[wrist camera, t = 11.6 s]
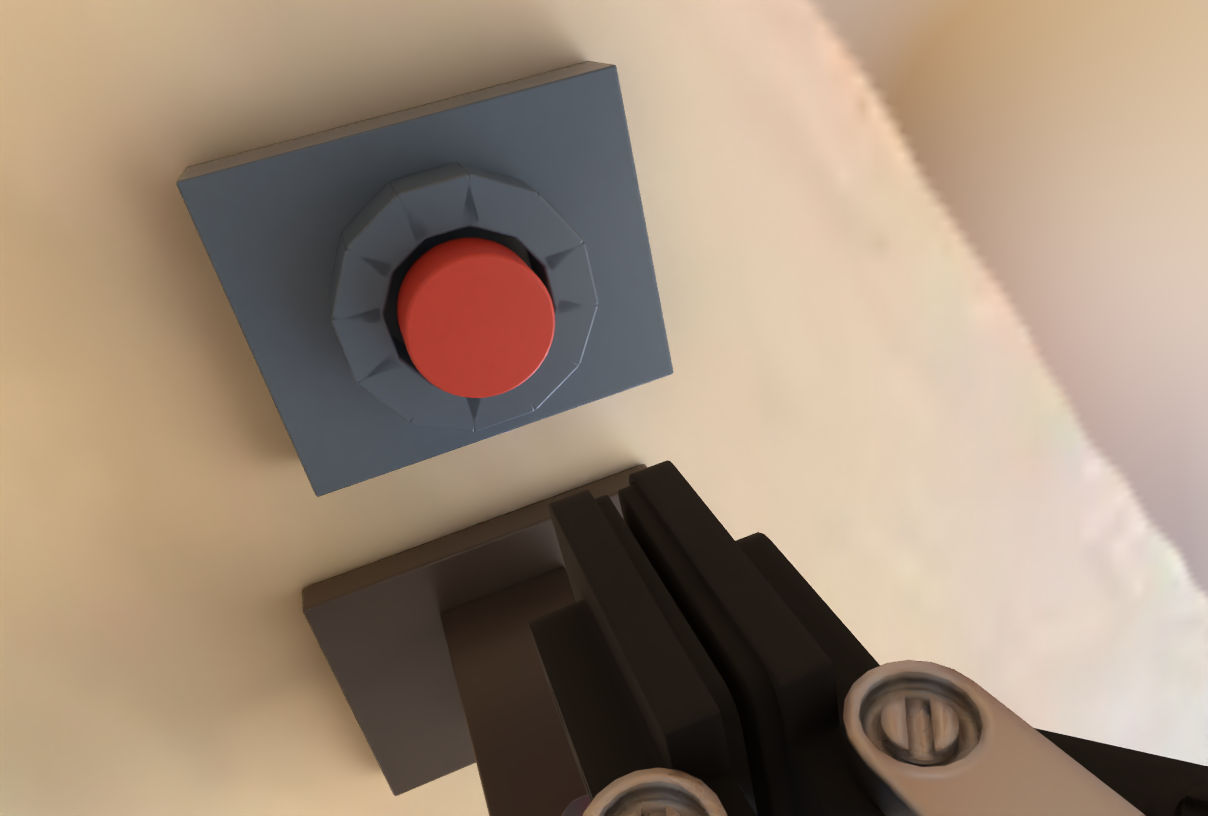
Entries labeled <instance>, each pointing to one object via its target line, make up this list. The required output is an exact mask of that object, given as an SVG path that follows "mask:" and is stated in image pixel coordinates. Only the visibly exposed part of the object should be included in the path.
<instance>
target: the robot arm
mask: <svg viewBox="0 0 1208 816" xmlns="http://www.w3.org/2000/svg"><path fill="white" fill-rule="evenodd" d="M629 484H630V486H628V487H625V488H622V489H620V490H618V497H619V502H620V506H621V510H622V514H623V518H622V516H621V515H620V513H619V512H618V510H617V508H616V507H615V505H614V504H613V502H612V500H611V499H610V497H609V496H608V495H607V494H606V495H603V496H600V497H598V498H595V499H594V497H593V496H592V494H591V493H590V491H589V490H584V491H582V492H579V493H576V494H573V495H570V496H568V497H565V498H562V499H559V500H557V501H554V502H551V503H549V504H548V506H549V511H550V515H551V519H552V522H553V525H554V529H555V532H556V536H557V539H558V543H559V546H560V550H561V553H562V557H563V560H564V564H565V567H566V570H567V574H568V577H569V581H570V584H571V588H572V591H573V595H574V598H575V602H576V603H573V604H571V605H568V606H566V607H563V608H560V609H558V610H555V611H553V612H550V613H547V614H545V615H542V616H540V617H537V618H534V619H532V620H529V621H527V622H528V626H529V629H530V632H531V635H532V638H533V641H534V644H535V647H536V650H537V653H538V656H539V659H540V662H541V665H542V668H543V671H544V674H545V677H546V680H547V683H548V686H549V689H550V691H551V694H552V697H553V700H554V703H555V706H556V709H557V711H558V714H559V717H560V720H561V723H562V725H563V728H564V731H565V734H566V736H567V739H568V742H569V745H570V747H571V750H572V753H573V756H574V758H575V761H576V764H577V767H578V769H579V772H580V775H581V778H582V780H583V783H584V786H585V789H586V791H587V794H588V797H589V800H590V802H591V803H590V805H589V806H588V807H587V809H586V810H585V812H584V813H583V816H1208V766H1203V765H1199V764H1194V763H1190V762H1185V761H1181V760H1176V759H1171V758H1167V757H1162V756H1158V755H1153V754H1149V753H1144V752H1140V751H1135V750H1131V749H1126V748H1122V747H1117V746H1113V745H1108V744H1103V743H1099V742H1094V741H1090V740H1085V739H1081V738H1076V737H1072V736H1067V735H1063V734H1058V733H1054V732H1049V731H1045V730H1040V729H1035V728H1033V727H1032V726H1030V725H1029V724H1028V723H1026V722H1025V721H1024V720H1023V719H1021V718H1020V717H1019V716H1018V715H1016V714H1015V713H1014V712H1012V711H1011V710H1010V709H1009V708H1007V707H1006V706H1005V705H1003V704H1002V703H1001V702H1000V701H998V700H997V699H996V698H994V697H993V696H992V695H991V694H989V693H988V692H987V691H986V690H984V689H983V688H982V687H980V686H979V685H978V684H977V683H975V682H974V681H972V680H971V679H969V678H967V677H966V676H964V675H962V674H961V673H959V672H957V671H956V670H954V669H951V668H948V667H945V666H942V665H938V664H935V663H932V662H923V661H912V660H906V661H899V662H892V663H886V664H883V665H881V666H880V665H879V664H878V663H877V662H876V660H875V659H874V658H873V657H872V656H871V655H870V653H869V652H868V651H867V650H866V649H865V648H864V647H863V645H862V644H861V643H860V642H859V641H858V640H857V639H856V637H855V636H854V635H853V634H852V633H851V632H850V631H849V629H848V628H847V627H846V626H845V625H844V624H843V623H842V621H841V620H840V619H839V618H838V617H837V616H836V615H835V613H834V612H833V611H832V610H831V609H830V608H829V606H828V605H827V604H826V603H825V602H824V601H823V600H822V598H821V597H820V596H819V595H818V594H817V593H816V592H815V590H814V589H813V588H812V587H811V586H810V585H809V584H808V582H807V581H806V580H805V579H804V578H803V577H802V576H801V574H800V573H799V572H798V571H797V570H796V569H795V568H794V566H793V565H792V564H791V563H790V562H789V561H788V560H787V558H786V557H785V556H784V555H783V554H782V553H781V551H780V550H779V549H778V548H777V547H776V546H775V545H774V543H773V542H772V541H771V540H770V539H769V538H768V537H767V536H765V535H764V534H762V533H759V532H757V533H755V534H752V535H750V536H747V537H744V538H742V539H739V540H737V541H735V540H734V539H733V538H732V537H731V535H730V534H729V533H728V532H727V530H726V529H725V528H724V527H723V525H722V524H721V523H720V522H719V520H718V519H717V518H716V517H715V516H714V514H713V513H712V512H711V511H710V509H709V508H708V507H707V506H706V504H705V503H704V502H703V501H702V499H701V498H700V497H699V496H698V494H697V493H696V492H695V491H694V489H693V488H692V487H691V486H690V484H689V483H688V482H687V481H686V480H685V478H684V477H683V476H682V475H681V473H680V472H679V471H678V470H677V468H676V467H675V466H674V465H673V464H672V463H671V462H670V461H665V462H662V463H659V464H656V465H654V466H651V467H648V468H645V469H643V470H640V471H637V472H634V473H631V474H630V475H629ZM623 519H624V520H623Z"/></svg>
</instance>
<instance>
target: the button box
mask: <svg viewBox="0 0 1208 816" xmlns="http://www.w3.org/2000/svg"><path fill="white" fill-rule="evenodd" d="M177 187H178V189H179V191H180V193H181V195H182V198H183V200H184V202H185V204H186V207H187V209H188V211H189V213H190V216H191V218H192V220H193V222H194V224H195V227H196V229H197V231H198V233H199V236H200V238H201V240H202V242H203V245H204V247H205V249H206V251H207V254H208V256H209V258H210V260H211V262H212V265H213V267H214V269H215V271H216V274H217V276H218V278H219V280H220V283H221V285H222V287H223V289H224V292H225V294H226V296H227V298H228V300H229V303H230V305H231V307H232V309H233V312H234V314H235V316H236V318H237V321H238V323H239V325H240V327H241V329H242V332H243V334H244V336H245V338H246V341H247V343H248V345H249V347H250V350H251V352H252V354H253V356H254V359H255V361H256V363H257V365H258V367H259V370H260V372H261V374H262V376H263V379H264V381H265V383H266V385H267V388H268V390H269V392H270V394H271V397H272V399H273V401H274V403H275V405H276V408H277V410H278V412H279V414H280V417H281V419H282V421H283V423H284V426H285V428H286V430H287V432H288V434H289V437H290V439H291V441H292V443H293V446H294V448H295V450H296V452H297V455H298V457H299V459H300V461H301V464H302V466H303V468H304V470H305V472H306V475H307V477H308V479H309V481H310V484H311V486H312V488H313V490H314V493H315V495H316V496H317V497H319V496H322V495H325V494H327V493H330V492H333V491H336V490H339V489H342V488H345V487H348V486H351V485H353V484H356V483H359V482H362V481H365V480H368V479H371V478H374V477H376V476H379V475H382V474H385V473H388V472H391V471H394V470H397V469H400V468H402V467H405V466H408V465H411V464H414V463H417V462H420V461H423V460H426V459H428V458H431V457H434V456H437V455H440V454H443V453H446V452H449V451H451V450H454V449H457V448H460V447H463V446H466V445H469V444H472V443H475V442H477V441H480V440H483V439H486V438H489V437H492V436H495V435H498V434H500V433H503V432H506V431H509V430H512V429H515V428H518V427H521V426H524V425H526V424H529V423H532V422H535V421H538V420H541V419H544V418H547V417H550V416H552V415H555V414H558V413H561V412H564V411H567V410H570V409H573V408H575V407H578V406H581V405H584V404H587V403H590V402H593V401H596V400H599V399H601V398H604V397H607V396H610V395H613V394H616V393H619V392H622V391H625V390H627V389H630V388H633V387H636V386H639V385H642V384H645V383H648V382H650V381H653V380H656V379H659V378H662V377H665V376H668V375H671V374H673V368H672V363H671V357H670V352H669V346H668V341H667V336H666V330H665V325H664V320H663V314H662V309H661V304H660V298H659V293H658V288H657V282H656V277H655V272H654V266H653V261H652V255H651V250H650V245H649V239H648V234H647V229H646V223H645V218H644V213H643V207H642V202H641V197H640V191H639V186H638V181H637V175H636V170H635V164H634V159H633V154H632V148H631V143H630V138H629V132H628V127H627V122H626V116H625V111H624V106H623V100H622V95H621V89H620V84H619V79H618V73H617V68H616V66H615V65H611V64H604V63H598V62H591V61H588V62H584V63H580V64H576V65H572V66H569V67H565V68H561V69H557V70H553V71H550V72H546V73H542V74H538V75H535V76H531V77H527V78H523V79H519V80H516V81H512V82H508V83H504V84H500V85H497V86H493V87H489V88H485V89H481V90H478V91H474V92H470V93H466V94H463V95H459V96H455V97H451V98H447V99H444V100H440V101H436V102H432V103H428V104H425V105H421V106H417V107H413V108H410V109H406V110H402V111H398V112H394V113H391V114H387V115H383V116H379V117H375V118H372V119H368V120H364V121H360V122H356V123H353V124H349V125H345V126H341V127H338V128H334V129H330V130H326V131H322V132H319V133H315V134H311V135H307V136H303V137H300V138H296V139H292V140H288V141H284V142H281V143H277V144H273V145H269V146H266V147H262V148H258V149H254V150H250V151H247V152H243V153H239V154H235V155H231V156H228V157H224V158H220V159H216V160H212V161H209V162H205V163H201V164H197V165H194V166H190V167H187V168H186V169H185V171H184V172H183V174H182V175H181V176H180V178H179V179H178V181H177ZM465 237H477V238H483V239H488V240H492V241H495V242H497V243H500V244H502V245H504V246H506V247H507V248H509V249H510V250H512V251H513V252H514V253H516V254H517V255H518V256H519V257H520V258H521V259H522V260H523V261H524V262H525V263H526V264H527V265H528V266H529V268H530V269H531V270H532V271H533V272H534V273H535V274H536V275H537V276H538V277H539V278H540V279H541V281H542V282H543V284H544V285H545V287H546V289H547V291H548V293H549V295H550V297H551V300H552V303H553V307H554V313H555V330H554V336H553V341H552V344H551V347H550V349H549V352H548V354H547V356H546V357H545V359H544V361H543V362H542V364H541V365H540V367H539V368H538V369H537V370H536V371H535V373H534V374H533V375H532V376H531V377H529V378H528V379H527V380H526V381H525V382H523V383H522V384H520V385H519V386H517V387H515V388H514V389H512V390H510V391H507V392H505V393H502V394H499V395H495V396H491V397H484V398H469V397H461V396H457V395H453V394H450V393H448V392H445V391H443V390H441V389H439V388H437V387H436V386H434V385H433V384H432V383H430V382H429V381H428V380H427V379H426V378H424V377H423V376H422V374H421V373H420V372H419V371H418V370H417V368H416V367H415V365H414V364H413V362H412V360H411V358H410V356H409V353H408V351H407V348H406V345H405V342H404V339H403V336H402V334H401V331H400V327H399V324H398V318H397V299H398V293H399V289H400V286H401V283H402V281H403V279H404V277H405V275H406V273H407V272H408V270H409V269H410V267H411V266H412V265H413V264H414V262H415V261H416V260H417V259H418V258H419V257H420V256H421V255H423V254H424V253H425V252H427V251H428V250H429V249H431V248H433V247H435V246H436V245H438V244H440V243H443V242H446V241H448V240H452V239H457V238H465Z"/></svg>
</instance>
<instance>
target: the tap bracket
mask: <svg viewBox="0 0 1208 816" xmlns="http://www.w3.org/2000/svg"><path fill="white" fill-rule="evenodd" d="M645 468H647V467H646V465H644V464H642V465H640V466H637V467H634V468H631V469H629V470H626V471H623V472H621V473H618V474H615V475H612V476H610V477H607V478H604V479H601V480H599V481H596V482H593V483H590V484H588V485H585V486H582V487H580V488H577V489H574V490H571V491H569V492H566V493H563V494H560V495H558V496H555V497H552V498H550V499H547V500H544V501H541V502H539V503H536V504H533V505H530V506H528V507H525V508H522V509H520V510H517V511H514V512H511V513H509V514H506V515H503V516H500V517H498V518H495V519H492V520H490V521H487V522H484V523H481V524H479V525H476V526H473V527H470V528H468V529H465V530H462V531H459V532H457V533H454V534H451V535H449V536H446V537H443V538H440V539H438V540H435V541H432V542H429V543H427V544H424V545H421V546H419V547H416V548H413V549H410V550H408V551H405V552H402V553H399V554H397V555H394V556H391V557H389V558H386V559H383V560H380V561H378V562H375V563H372V564H369V565H367V566H364V567H361V568H359V569H356V570H353V571H350V572H348V573H345V574H342V575H339V576H337V577H334V578H331V579H328V580H326V581H323V582H320V583H318V584H315V585H312V586H309V587H307V588H304V589H303V590H302V604H303V613H304V615H305V617H306V619H307V621H308V623H309V625H310V627H311V629H312V631H313V633H314V635H315V637H316V639H317V641H318V643H319V645H320V647H321V649H322V651H323V653H324V655H325V657H326V659H327V661H328V663H329V665H330V667H331V669H332V671H333V673H334V675H335V678H336V680H337V682H338V684H339V686H340V688H341V690H342V692H343V694H344V696H345V698H346V700H347V702H348V704H349V706H350V708H351V710H352V712H353V714H354V716H355V718H356V720H357V722H358V724H359V726H360V728H361V730H362V732H363V734H364V736H365V738H366V740H367V742H368V744H369V746H370V748H371V750H372V752H373V754H374V756H375V758H376V760H377V762H378V764H379V766H380V768H381V770H382V772H383V774H384V776H385V778H386V780H387V782H388V784H389V786H390V788H391V790H392V792H393V794H394V795H395V796H398V795H400V794H402V793H405V792H407V791H409V790H412V789H414V788H416V787H419V786H421V785H424V784H426V783H428V782H431V781H433V780H435V779H438V778H440V777H443V776H445V775H447V774H450V773H452V772H454V771H457V770H459V769H461V768H464V767H466V766H469V765H471V764H473V763H477V767H478V771H479V775H480V779H481V783H482V787H483V791H484V795H485V800H486V804H487V808H488V812H489V816H583V813H584V812H585V810H586V809H587V807H588V806H589V805H590V803H591V802H590V800H589V797H588V794H587V791H586V789H585V786H584V783H583V780H582V778H581V775H580V772H579V769H578V767H577V764H576V761H575V758H574V756H573V753H572V750H571V747H570V745H569V742H568V739H567V736H566V734H565V731H564V728H563V725H562V723H561V720H560V717H559V714H558V711H557V709H556V706H555V703H554V700H553V697H552V694H551V691H550V689H549V686H548V683H547V680H546V677H545V674H544V671H543V668H542V665H541V662H540V659H539V656H538V653H537V650H536V647H535V644H534V641H533V638H532V635H531V632H530V629H529V626H528V622H527V621H529V620H532V619H534V618H537V617H540V616H542V615H545V614H547V613H550V612H553V611H555V610H558V609H560V608H563V607H566V606H568V605H571V604H573V603H576V602H575V598H574V595H573V591H572V588H571V584H570V581H569V577H568V574H567V570H566V567H565V564H564V560H563V557H562V553H561V550H560V546H559V543H558V539H557V536H556V532H555V529H554V525H553V522H552V519H551V515H550V511H549V506H548V504H549V503H551V502H554V501H557V500H559V499H562V498H565V497H568V496H570V495H573V494H576V493H579V492H582V491H584V490H589V491H590V493H591V494H592V496H593V497H594V499H595V498H598V497H600V496H603V495H606V494H607V495H608V496H609V497H610V499H611V500H612V502H613V504H614V505H615V507H616V508H617V510H618V512H619V513H620V515H621V516H622V518H623V514H622V510H621V506H620V502H619V497H618V490H620V489H622V488H625V487H628V486H630V484H629V475H630V474H631V473H634V472H637V471H640V470H643V469H645ZM623 520H624V519H623Z"/></svg>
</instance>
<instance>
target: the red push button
mask: <svg viewBox="0 0 1208 816" xmlns="http://www.w3.org/2000/svg"><path fill="white" fill-rule="evenodd" d="M397 318H398V324H399V327H400V331H401V334H402V336H403V339H404V342H405V345H406V348H407V351H408V353H409V356H410V358H411V360H412V362H413V364H414V365H415V367H416V368H417V370H418V371H419V372H420V373H421V374H422V376H423V377H424V378H426V379H427V380H428V381H429V382H430V383H432V384H433V385H434V386H436V387H437V388H439V389H441V390H443V391H445V392H448V393H450V394H453V395H457V396H461V397H469V398H484V397H491V396H495V395H499V394H502V393H505V392H507V391H510V390H512V389H514V388H515V387H517V386H519V385H520V384H522V383H523V382H525V381H526V380H527V379H528V378H529V377H531V376H532V375H533V374H534V373H535V371H536V370H537V369H538V368H539V367H540V365H541V364H542V362H543V361H544V359H545V357H546V356H547V354H548V352H549V349H550V347H551V344H552V341H553V336H554V330H555V313H554V307H553V303H552V300H551V297H550V295H549V293H548V291H547V289H546V287H545V285H544V284H543V282H542V281H541V279H540V278H539V277H538V276H537V275H536V274H535V273H534V272H533V271H532V270H531V269H530V268H529V266H528V265H527V264H526V263H525V262H524V261H523V260H522V259H521V258H520V257H519V256H518V255H517V254H516V253H514V252H513V251H512V250H510V249H509V248H507V247H506V246H504V245H502V244H500V243H497V242H495V241H492V240H488V239H483V238H477V237H465V238H457V239H452V240H448V241H446V242H443V243H440V244H438V245H436V246H435V247H433V248H431V249H429V250H428V251H427V252H425V253H424V254H423V255H421V256H420V257H419V258H418V259H417V260H416V261H415V262H414V264H413V265H412V266H411V267H410V269H409V270H408V272H407V273H406V275H405V277H404V279H403V281H402V283H401V286H400V289H399V293H398V299H397Z"/></svg>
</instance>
